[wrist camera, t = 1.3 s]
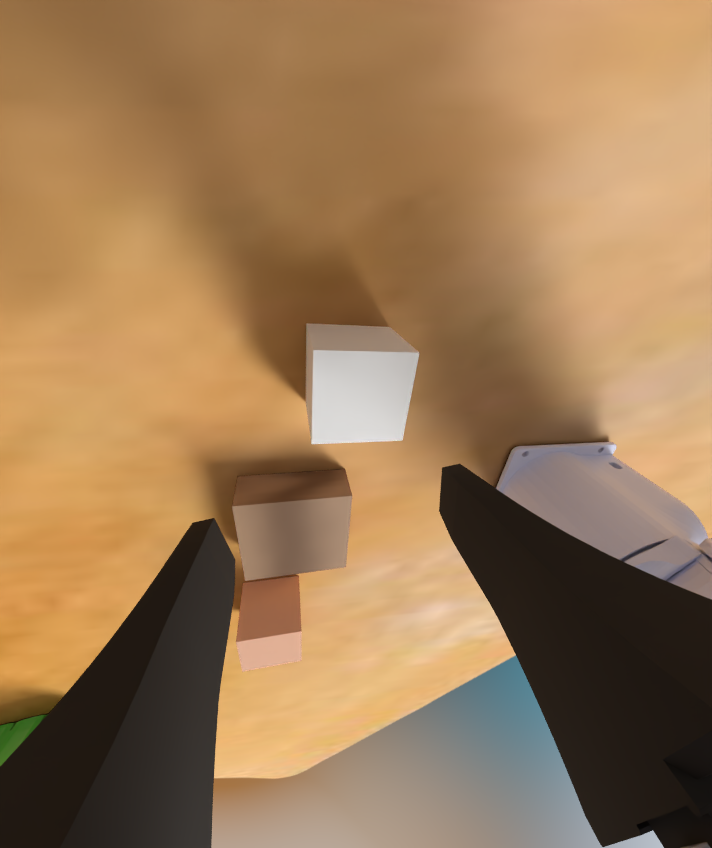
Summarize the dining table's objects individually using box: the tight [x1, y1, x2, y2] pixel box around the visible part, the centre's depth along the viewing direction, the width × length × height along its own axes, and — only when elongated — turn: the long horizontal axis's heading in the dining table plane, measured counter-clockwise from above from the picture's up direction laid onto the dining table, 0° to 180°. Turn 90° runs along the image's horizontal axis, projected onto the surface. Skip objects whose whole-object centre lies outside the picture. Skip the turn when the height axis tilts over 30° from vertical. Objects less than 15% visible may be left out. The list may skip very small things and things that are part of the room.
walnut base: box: [232, 469, 352, 581], centre depth 22 cm, size 7×7×3 cm
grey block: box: [306, 323, 419, 444], centre depth 16 cm, size 4×4×4 cm
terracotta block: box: [236, 576, 301, 672], centre depth 25 cm, size 4×4×4 cm
